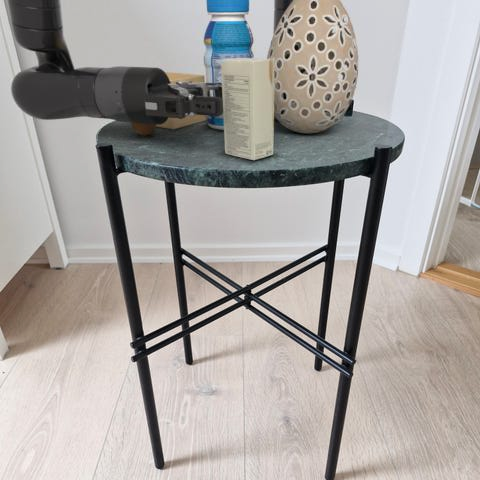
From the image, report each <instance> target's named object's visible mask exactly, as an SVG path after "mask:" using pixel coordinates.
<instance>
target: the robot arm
mask: <svg viewBox="0 0 480 480" xmlns="http://www.w3.org/2000/svg"><path fill="white" fill-rule="evenodd" d="M292 1H293V0H273V32H272V33H273V35H274V32H275V30H276V28H277V25H278V23H279V21H280V19H281V18H282V16H283V14H284V12H285V11H286V9H287V8H288V7H289V5H290V4H291V3H292ZM7 5H8V6H7V7H8V11H9V17H10V23H11V29H12V33H13V37H14V39H15V41H16V43H17V44H18V46H19V47H21V48H23V49H25V50H27V51H30V52H34V54H35V56H36V58H37V65H34V66H32V67H28V68H25V69H22V70H21V71H19V72H18V73H16V75H15V76H14V77H13V79H12V82H11V85H10V91H11V96H12V99H13V101H14V103H15V104H16V106H17V107H18V108H19V109H20V110H21V111H22V112H23V113H24V114H26V115H28V116H29V117H32V118H33V119H38V120H42V121H52V120H53V121H55V120H64V119H74V118H83V117H87V118H93V119H104V120H106V119H107V120H112V121H117V122H122V123H130V122H131V123H143V124H156V125H160V124H163V123H165V122H166V121H167V119H168V118H169V117H170V118H179V119H183V118H185V116H190V117H193V116H195V115H206V116H207V115H209V116H220V115H222V114H223V97H222V83H221V82H219V83H206V81H205V82H192V81H190V82H186V81H177V82H176V84H171V82H170V80H169V78H168V76H167V74H166V73H165V72H166V71H164V70H163V69H162V68H160V67H150V66H147V67H145V66H122V65H120V66H111V67H99V66H98V67H97V66H96V67H95V66H84V67H78V68H77V67H76V68H75V67H74V63H73V59H72V56H71V53H70V49H69V47H68V45H67V42H66V39H65V36H64V24H63V13H62V4H61V0H7ZM314 7H315V8H316V7H317V3H316V2H315V4H314ZM300 18H301V17H299V18H298V19H297V21H298V20H299V19H300ZM288 19H289V16H288ZM314 21H315V17H314ZM294 22H295V21H293V20H292V21H291V22H290V23H294ZM286 27H287V26H285V27H284V28H286ZM283 32H284V30H283ZM283 32H282V33H283ZM288 34H289V35H291V29H289V31H288ZM273 35H272V36H273ZM313 35H314V34H313ZM306 38H307V37H306ZM307 41H309V40H308V38H307ZM294 49H295V50H296V51H298V49H299V47H298V45H294ZM289 57H290V54H287V55H286V57H285V59H288V58H289ZM278 61H281V60H278ZM314 64H316V63H314ZM281 66H282V65H281ZM312 67H313V65H312V63H311V69H312ZM305 71H306V70H305V69H301V70H300V72H301V73H302V74H303V73H304V72H305ZM317 74H318V75H321V74H322V73H321V71H320V70H319V71H318V73H317ZM309 80H311V74H310V75H309ZM275 87H276V84H275ZM210 90H215V97H211V96H210ZM310 96H312V95H310ZM283 98H284V100H286V93H285V92H283ZM329 100H330V98H328V101H329ZM292 103H294V101H292V102H291V103H290V104H292ZM338 107H339V106H338ZM336 108H337V107H336ZM284 111H285V109H284V110H282V111H281V114H283V113H284ZM274 120H275V121H276V120H277V119H276V117H275V116H274ZM277 121H278V120H277ZM131 123H130V124H131Z"/></svg>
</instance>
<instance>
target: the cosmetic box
mask: <svg viewBox="0 0 480 480" xmlns="http://www.w3.org/2000/svg"><path fill="white" fill-rule="evenodd" d="M274 68H275V59H267V58H257V57H256V58H255V57H254V58H230V59H223V60H221V74H222V97H223V119H224V130H223V137H224V139H223V141H224V154H225V155H229V156H232V157H236V158H237V157H238V158H241V159H246V160H250V161H257V160H261V159H263V158H267V157H271V156H274V147H275V145H274V140H275V138H274V136H275V134H274V133H275V131H274V130H275V119H274Z"/></svg>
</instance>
